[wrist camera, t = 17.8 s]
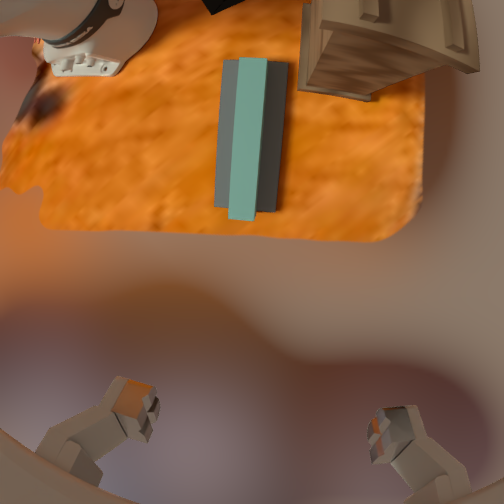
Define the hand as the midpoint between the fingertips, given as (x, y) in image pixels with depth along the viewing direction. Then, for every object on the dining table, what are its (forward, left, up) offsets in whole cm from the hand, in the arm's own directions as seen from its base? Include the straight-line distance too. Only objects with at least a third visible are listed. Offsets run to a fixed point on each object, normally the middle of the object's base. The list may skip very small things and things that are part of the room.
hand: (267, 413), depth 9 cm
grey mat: (-5, +8, -35) cm, 36 cm away
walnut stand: (+6, +22, -35) cm, 42 cm away
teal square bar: (-5, +8, -34) cm, 36 cm away
